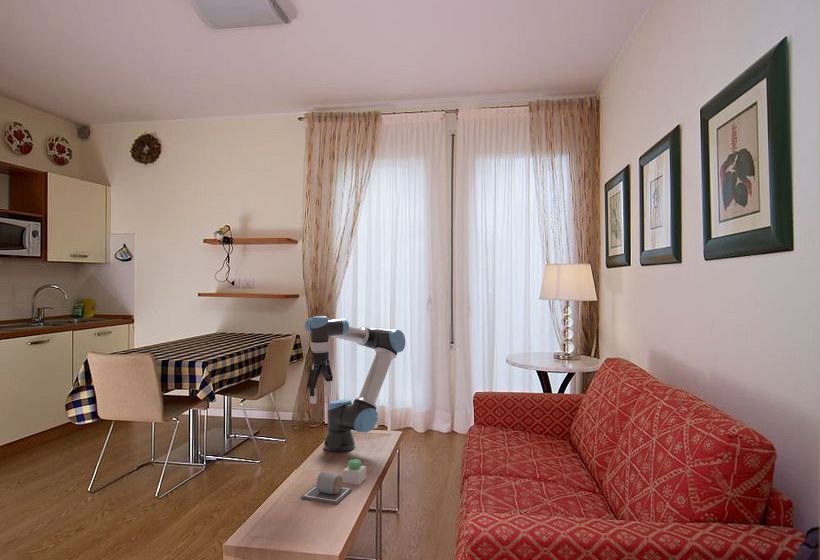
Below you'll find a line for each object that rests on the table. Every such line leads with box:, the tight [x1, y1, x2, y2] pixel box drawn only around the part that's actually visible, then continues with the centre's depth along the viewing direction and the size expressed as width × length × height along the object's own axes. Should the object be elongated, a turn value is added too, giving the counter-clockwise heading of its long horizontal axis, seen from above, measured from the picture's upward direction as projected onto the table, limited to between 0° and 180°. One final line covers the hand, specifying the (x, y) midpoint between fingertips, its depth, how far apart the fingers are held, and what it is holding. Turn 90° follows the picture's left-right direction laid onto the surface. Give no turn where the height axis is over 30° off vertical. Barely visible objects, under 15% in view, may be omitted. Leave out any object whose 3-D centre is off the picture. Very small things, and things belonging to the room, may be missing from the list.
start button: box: [348, 458, 362, 468], centre depth 200 cm, size 5×5×2 cm
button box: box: [342, 465, 367, 486], centre depth 200 cm, size 7×7×5 cm
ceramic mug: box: [315, 470, 344, 495], centre depth 187 cm, size 11×8×8 cm
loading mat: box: [300, 485, 353, 505], centre depth 186 cm, size 13×15×1 cm
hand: (320, 399), depth 213 cm, fingers open, 13 cm apart
